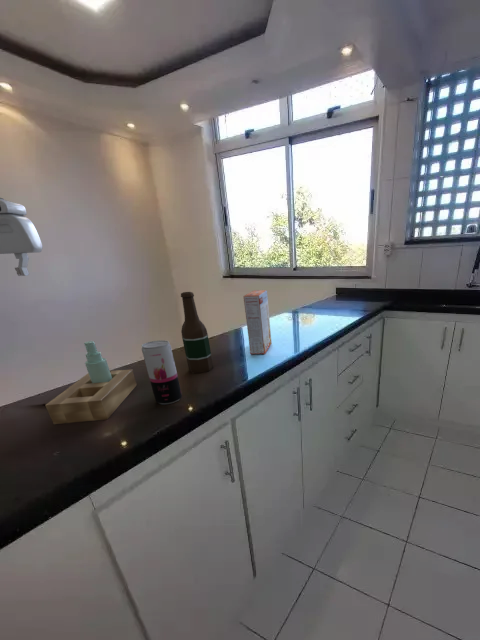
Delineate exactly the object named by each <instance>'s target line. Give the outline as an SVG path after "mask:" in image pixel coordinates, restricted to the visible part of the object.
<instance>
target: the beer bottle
mask: <svg viewBox="0 0 480 640" xmlns="http://www.w3.org/2000/svg"><path fill="white" fill-rule="evenodd" d="M180 297H181V299H182V300H181V301H182V308H183V316H184V320H183V324H182V325H181V331H180V332H181V338H182V344H183V349H184V354H185V358H186V362H187V367H188V370H189V371H190V372H191V373H192V374H203V373H206V372H210V371H211V370H212V369H213V368H214V365H213V364H214V363H213V357H212V351H211V345H210V339H209V333H208V330H207V328H206V326H205V324H204V323H203V321H202V320H201V319H200V317H199V314H198V310H197V307H196V303H195V299H194V297H195V294H194V292H193V291H184V292H181V293H180Z"/></svg>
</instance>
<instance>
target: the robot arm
mask: <svg viewBox="0 0 480 640" xmlns="http://www.w3.org/2000/svg"><path fill="white" fill-rule="evenodd" d="M27 213H28V212H27V210H26V207H25V206H24V205H23V204H21V203H19V202H14V201H11V200H7V199H4V198H2V197H0V255H6V254H7V255H9V254H13V255H14V258H15V259H16V260H18V267H14V270H15V272H16V275H17V276H18V277H25V276H30V273H29V270H28V265H29V260H30V257H29V254H31V253H32V254H33V253H34V254H35V253H41V252H42V250H43V242H42V239H41V238H40V236H39V233H38V231H37V229H36V226H35V225H34V223H33V222H32V220H31V219H30V218H28V217H27V216H26V215H27Z"/></svg>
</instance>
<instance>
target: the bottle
mask: <svg viewBox="0 0 480 640" xmlns="http://www.w3.org/2000/svg"><path fill="white" fill-rule="evenodd" d="M83 345H84V347H85V350H86V353H85V354H84V356H85V358H86V361H85V362H84V365H85V368H86V370H87V374H88V373H89V376H90V379H91V382H92V383H101V382H109V381H110V380H111V379H112V376H111V373H110V371H111V370H110V368H109V367H110V366H109V363H108V360H107V358H105V357H103V355H102V353H101V351H98V349H97V346H96V343H95V341H94V340H88V341H84V342H83Z"/></svg>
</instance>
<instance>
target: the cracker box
mask: <svg viewBox="0 0 480 640" xmlns="http://www.w3.org/2000/svg"><path fill="white" fill-rule="evenodd" d="M268 297H269V296H268V290H267V289H254V290H251V291H250V292H248V293H247V294H244V295H243V305H244V314H245V320H246V321H245V322H246V327H247V328H246V329H247V336H248V337H247V338H248V345H249V353H250V355H266V353H267V351H268V350H269V348H270V347H271V346H272V334H271V332H272V330H271V322H270V310H269V298H268Z"/></svg>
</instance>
